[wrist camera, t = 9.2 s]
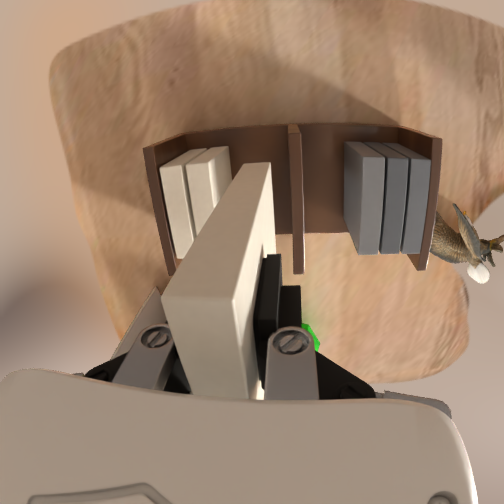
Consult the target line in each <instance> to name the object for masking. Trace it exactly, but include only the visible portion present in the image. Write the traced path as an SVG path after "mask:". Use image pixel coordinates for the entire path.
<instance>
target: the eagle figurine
mask: <svg viewBox="0 0 504 504" xmlns="http://www.w3.org/2000/svg"><path fill="white" fill-rule="evenodd" d="M453 206H454V208H455V210H456V213H457V216H458V225H459V231H460V233H457V232H455V231H454V230H453V229H452V228H451V227H449V226H448V225H447V224H446V223H445V222H444V220H443V219H442V217H441V216H440V215H439V214H438V212H437V211H436V216H435V223H434V229H433V235H432V241H431V247H430V252H431V253H432V254H434V255H435V256H438V257H439V258H441V259H443V260H445V261H447V262H450V263H455V264H456V263H460V262H461V263H462V262H469V266H468V271H467V272H468V274H469V276H470V277H472V278H473V279H474V280H475V281H476V282H479V283H481V284H482V283H486V282H487V281H488V279H489V278H490V272H489V270H488V269H487V267H486V266H485V265H484V264H483V263H482V261H484V262H485V261H486V260H485V259H486V256H487V257H488V258H487V259H488V261H489V262H490V263H491V265H492V266H493V267H495V264H494V262H493V259H492V253H491V250H495V251H497V252H500V253H502V252H503V248H502V247H501V245H499V244H500V243H501V242H503V241H504V235H502V236H500V237H499V238H496V239H493V240H489V241H487V240H484V239H479V237H478V235H477V232H476V230H475V228H474V227H473V225H472V223H471V221H470V219H469V217H468V216H467V214H466V211H464V212H463V214H462V212H461V211H460V210H459V208H458V207H457V205H456V204H454V203H453ZM482 254H483V258H482V257H481V255H482Z"/></svg>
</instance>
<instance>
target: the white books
mask: <svg viewBox="0 0 504 504" xmlns="http://www.w3.org/2000/svg"><path fill="white" fill-rule="evenodd" d="M160 174H161V179H162V185H163V191H164V196H165V202H166V207H167V212H168V218H169V223H170V228H171V233H172V237H173V242H174V247H175V252H176V256H177V258H184V257H185V255H186V253H187V252H188V250H189V248H190V247H191V245H192V243H193V242H194V240H195V239H196V237H197V235H198V234H199V232H200V230H201V229H202V227H203V226H204V224H205V222H206V221H207V219H208V218H209V216H210V215H211V213H212V211H213V210H214V208H215V207H216V205H217V204H218V202H219V200H220V199H221V197H222V196H223V194H224V193H225V191H226V190H227V188H228V187H229V185H230V184H231V182H232V174H231V165H230V156H229V147H228V146H222V147H212V148H210V149H208V150H207V148H202V149H193V150H189V151H187V152H186V153H184V154H182V155H180V156H179V157H177V158H175V159H173V160H172V161H170V162H168V163H167V164H165V165H163V166H162V167H160Z"/></svg>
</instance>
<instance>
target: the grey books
mask: <svg viewBox="0 0 504 504" xmlns="http://www.w3.org/2000/svg"><path fill="white" fill-rule="evenodd" d="M430 165H431V160H430V159H428V158H426V157H424V156H422V155H420V154H418V153H416V152H414V151H412V150H410V149H408V148H406V147H404V146H402V145H400V144H398V143H382V144H381V143H378V142H364V143H362V142H344V216H343V218H344V221H345V223H346V225H347V228H348V230H349V233H350V235H351V238H352V240H353V243H354V245H355V248H356V250H357V253H358V255H378V250H379V251H380V253H381V254H399V251H401V253H402V254H418V253H420V248H421V243H422V236H423V230H424V223H425V216H426V208H427V199H428V190H429V178H430Z"/></svg>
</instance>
